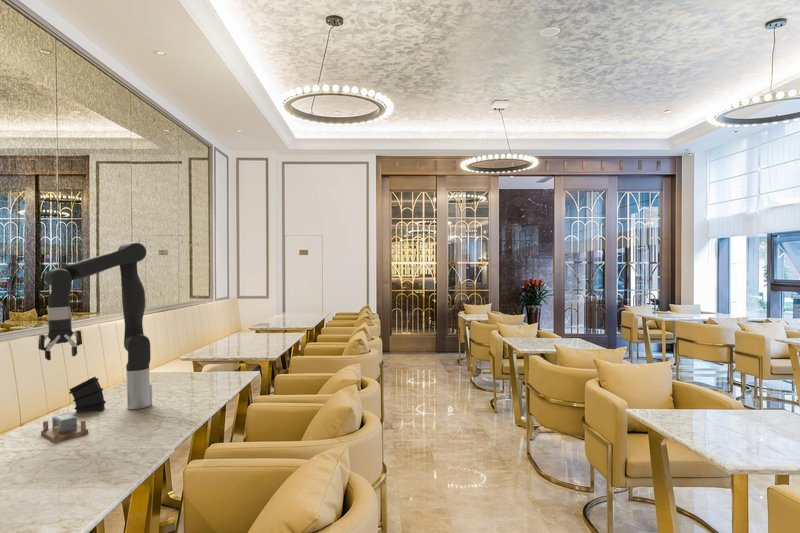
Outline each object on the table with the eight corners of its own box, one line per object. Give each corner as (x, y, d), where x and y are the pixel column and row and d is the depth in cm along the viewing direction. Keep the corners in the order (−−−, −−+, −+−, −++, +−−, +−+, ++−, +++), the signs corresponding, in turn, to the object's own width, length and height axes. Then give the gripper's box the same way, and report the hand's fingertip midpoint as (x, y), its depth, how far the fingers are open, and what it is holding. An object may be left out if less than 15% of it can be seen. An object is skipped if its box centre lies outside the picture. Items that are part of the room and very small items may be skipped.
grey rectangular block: (67, 426, 184) (67, 413, 184) (76, 430, 179) (76, 416, 179) (52, 430, 180) (52, 416, 180) (61, 434, 175) (61, 420, 175)
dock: (74, 426, 189) (74, 414, 189) (88, 433, 179) (87, 420, 180) (41, 434, 180) (40, 421, 180) (54, 442, 171) (53, 428, 171)
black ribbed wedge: (108, 406, 210) (92, 377, 209) (80, 421, 208) (63, 392, 207) (112, 404, 214) (96, 375, 213) (85, 418, 212) (68, 389, 211)
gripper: (76, 315, 197) (78, 354, 197) (35, 319, 186) (36, 360, 186) (83, 316, 193) (85, 355, 193) (41, 320, 181) (43, 362, 181)
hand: (61, 358), depth 189 cm, fingers open, 8 cm apart
